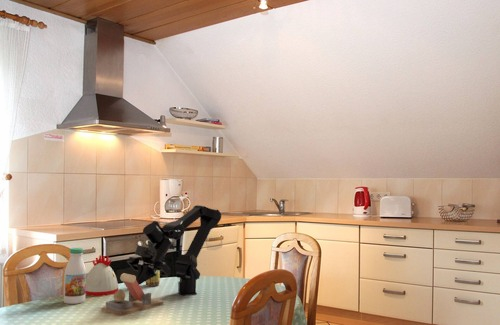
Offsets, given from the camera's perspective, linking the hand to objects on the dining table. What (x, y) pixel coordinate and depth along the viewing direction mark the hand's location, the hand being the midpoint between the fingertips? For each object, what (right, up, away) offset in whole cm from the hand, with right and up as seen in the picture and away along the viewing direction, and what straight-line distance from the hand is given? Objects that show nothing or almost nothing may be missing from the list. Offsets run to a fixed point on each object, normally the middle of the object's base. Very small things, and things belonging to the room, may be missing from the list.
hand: (135, 285), depth 170 cm
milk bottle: (-24, -8, +5) cm, 26 cm away
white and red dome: (-20, -9, +21) cm, 30 cm away
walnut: (-4, -4, -6) cm, 9 cm away
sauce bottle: (-2, -10, +36) cm, 37 cm away
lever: (+1, -5, +2) cm, 5 cm away
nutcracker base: (-1, -8, -1) cm, 8 cm away
